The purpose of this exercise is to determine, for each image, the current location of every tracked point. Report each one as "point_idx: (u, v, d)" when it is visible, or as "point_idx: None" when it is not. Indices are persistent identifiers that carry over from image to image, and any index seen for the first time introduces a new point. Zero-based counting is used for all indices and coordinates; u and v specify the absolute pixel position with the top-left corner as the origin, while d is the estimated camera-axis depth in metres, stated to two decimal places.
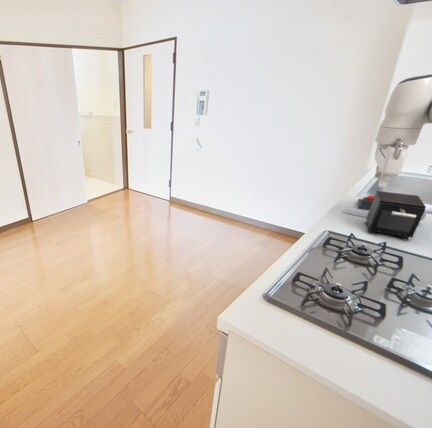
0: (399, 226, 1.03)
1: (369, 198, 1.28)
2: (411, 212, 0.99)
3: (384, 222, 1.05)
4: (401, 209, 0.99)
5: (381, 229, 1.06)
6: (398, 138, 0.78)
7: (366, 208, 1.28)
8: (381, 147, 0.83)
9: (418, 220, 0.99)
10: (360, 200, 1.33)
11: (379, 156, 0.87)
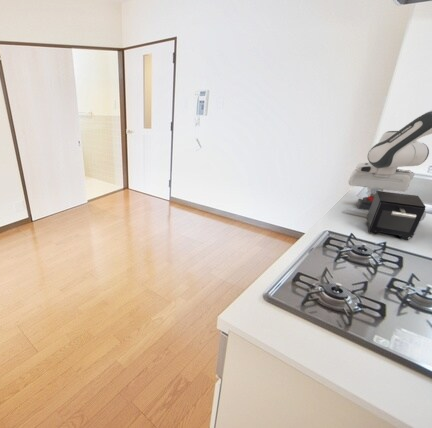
0: (399, 226, 1.03)
1: (369, 198, 1.29)
2: (411, 212, 0.99)
3: (384, 222, 1.05)
4: (401, 209, 0.99)
5: (381, 229, 1.06)
6: (396, 168, 1.20)
7: (366, 208, 1.28)
8: (386, 176, 1.21)
9: (418, 220, 0.99)
10: (360, 200, 1.33)
11: (371, 182, 1.26)
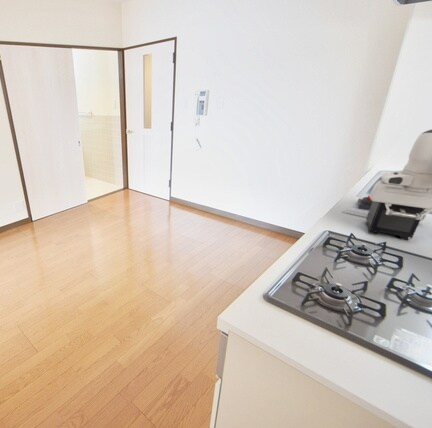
0: (399, 226, 1.03)
1: (369, 198, 1.28)
2: (411, 212, 0.99)
3: (384, 222, 1.05)
4: (401, 209, 0.99)
5: (381, 229, 1.06)
6: None
7: (366, 208, 1.28)
8: (423, 190, 0.90)
9: (418, 220, 0.99)
10: (360, 200, 1.33)
11: (401, 197, 0.94)
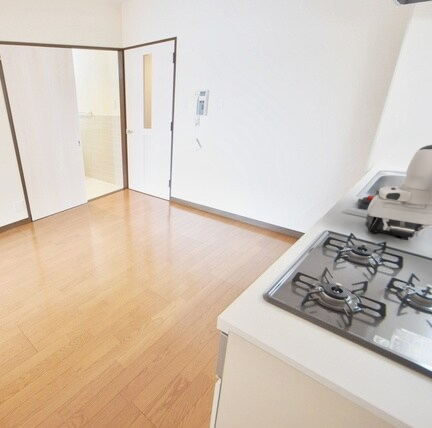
0: (399, 229, 1.02)
1: (369, 198, 1.28)
2: None
3: None
4: None
5: (381, 230, 1.06)
6: None
7: (366, 208, 1.28)
8: (421, 207, 0.89)
9: (419, 226, 0.97)
10: (360, 200, 1.33)
11: (399, 213, 0.93)
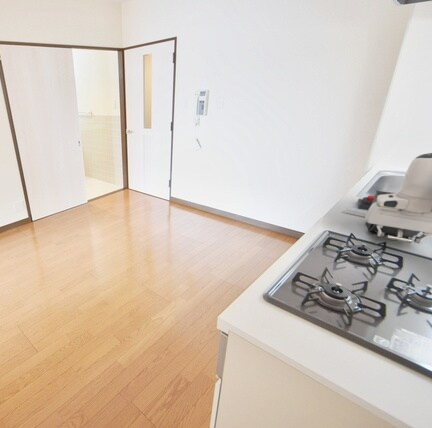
0: None
1: (369, 198, 1.28)
2: None
3: (384, 228, 1.03)
4: (400, 228, 0.96)
5: None
6: None
7: (366, 208, 1.28)
8: (419, 214, 0.90)
9: None
10: (360, 200, 1.33)
11: (397, 220, 0.94)
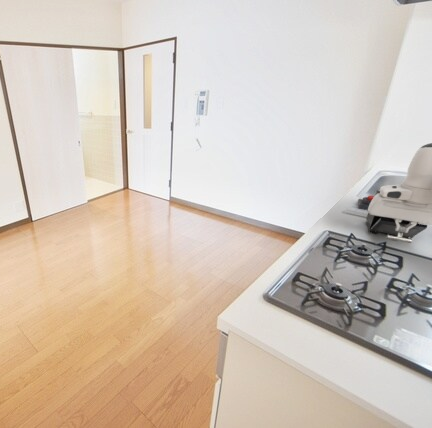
0: None
1: (369, 198, 1.28)
2: (412, 227, 0.96)
3: (384, 228, 1.03)
4: None
5: (381, 231, 1.06)
6: None
7: (366, 208, 1.28)
8: (423, 205, 0.88)
9: (419, 231, 0.96)
10: (360, 200, 1.33)
11: (400, 212, 0.92)
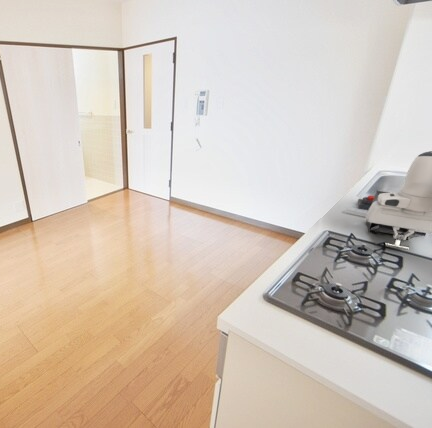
0: None
1: (369, 198, 1.28)
2: None
3: (383, 231, 1.03)
4: None
5: (381, 231, 1.05)
6: None
7: (366, 208, 1.28)
8: (420, 213, 0.88)
9: (418, 236, 0.96)
10: (360, 200, 1.33)
11: (398, 219, 0.92)
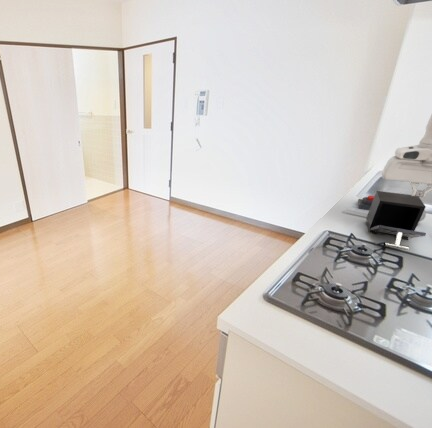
0: None
1: (369, 198, 1.28)
2: (410, 234, 0.95)
3: (383, 231, 1.03)
4: (398, 235, 0.96)
5: (381, 231, 1.05)
6: None
7: (366, 208, 1.28)
8: None
9: (418, 236, 0.96)
10: (360, 200, 1.33)
11: (417, 174, 0.86)
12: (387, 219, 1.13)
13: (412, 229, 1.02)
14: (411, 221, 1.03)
